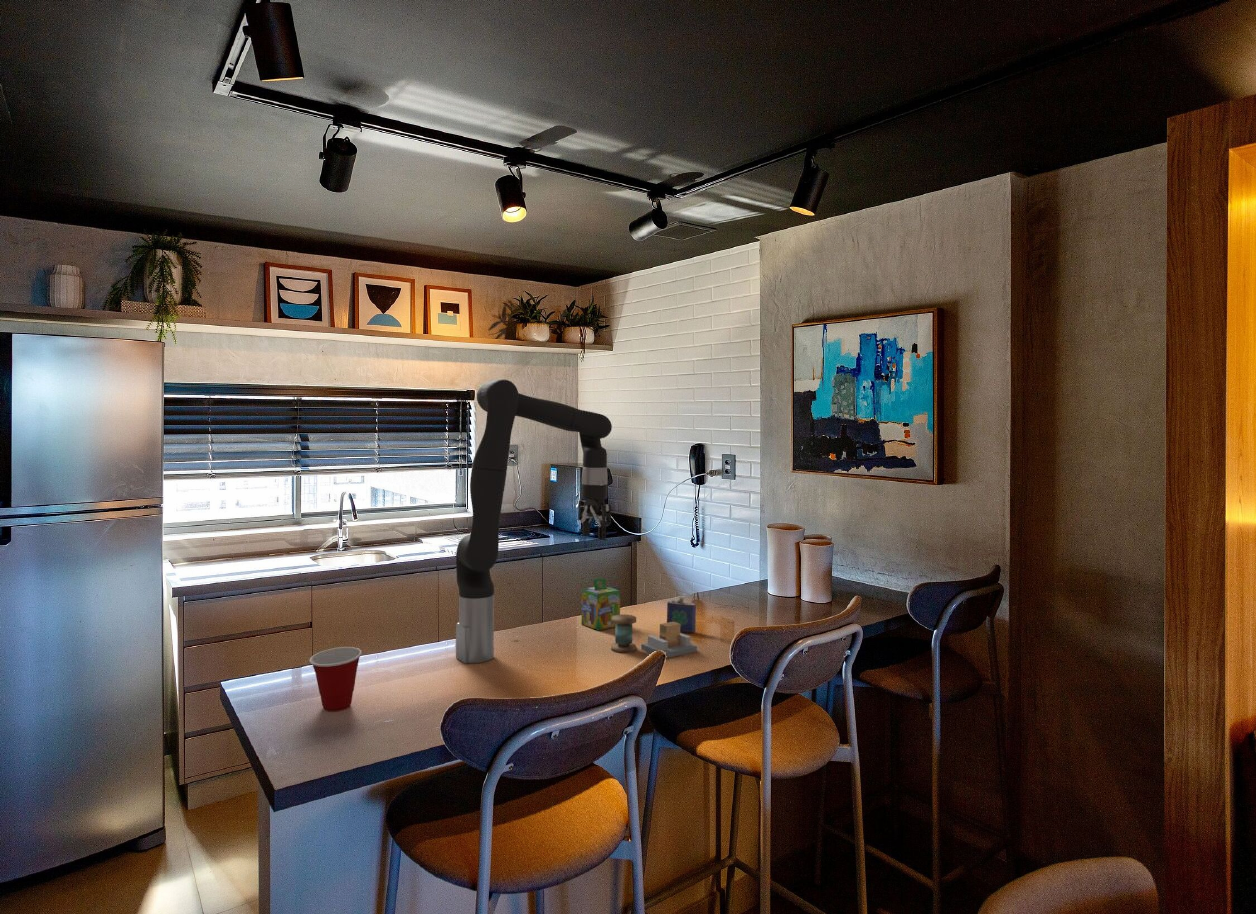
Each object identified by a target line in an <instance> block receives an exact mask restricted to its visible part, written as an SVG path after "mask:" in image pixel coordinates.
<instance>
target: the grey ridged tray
mask: <svg viewBox="0 0 1256 914" xmlns="http://www.w3.org/2000/svg"><path fill="white" fill-rule="evenodd" d="M691 641H692V640H691V636H689V635H686V633H680V645H677V646H672V647H668V641H666V640H663V639H661V638H660V637H658V636H655V635H651V634H650V635H648V636H647V642H645V643H641V645H640V647H641V648H640V649H641V650H642V651H644V652H647V653H648V654H651V653H652V652H654V651H658V650H662V651H664V652H666V656H667V658H666V659H669V658H674V657H677V656H683V655H688V654H691V653H697V652H698V646H697V645H695V644H692V643H691ZM668 657H669V658H668Z"/></svg>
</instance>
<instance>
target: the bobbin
mask: <svg viewBox="0 0 1256 914" xmlns="http://www.w3.org/2000/svg"><path fill="white" fill-rule="evenodd" d="M612 622H613V623H616V624H615V627H614V628H615V630H614V631H615V634H614V636H615V639H614V642H613V643H612V644H611V648H610V649H611V651H612V652H615V653H619V654H620V653H621V654H629V653H630V654H631V653H633V652H636V650H637V645H636V643H633V624H636V623H637V616H635V615H632V614H626V613H625V614H621V613H620V615H614V616H612Z"/></svg>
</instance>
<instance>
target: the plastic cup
mask: <svg viewBox="0 0 1256 914" xmlns="http://www.w3.org/2000/svg"><path fill="white" fill-rule="evenodd" d="M362 652H363V651H362V650H361V649H360V648H359V647H353V646H342V647H341V646H340V647H333V648H328V649H325V650H322V651H319V652H317V653H315V654H313V655H312V656H311V657H310V658H309V663H310V664H311V665H312V668H313V670H314V673H315V677H316V683H317V687H318V688H317V689H318V691H319V696H320V700H321V706H322V709H323V710H324V711H326V712H331V713H332V712H340V711H344V710H347V709H349V708H350V707H351V705H352V702H353V701H352V700H353V695H354V690H355V685H356V678H357V671H358V667H359V662H360V657H361V655H362Z"/></svg>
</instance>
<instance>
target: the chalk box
mask: <svg viewBox="0 0 1256 914" xmlns="http://www.w3.org/2000/svg"><path fill="white" fill-rule="evenodd" d="M606 582H607V581H606V578H605V577H601V578H595V579H594V580H593V585H594V586H592V587H586V588H582V589H581V623H580V624H581V626H585V627H587V628H590V629H592V630H593V629H594V630H596V631H601V630H602V631H603V630H607V629H611V628H615V624H616V623H613V622H612V616H614V615H621V590H618V589H615V588H613V587H609V586H607V583H606ZM599 583H601V584H602V585H601V586H600V585H599V586H598V584H599Z"/></svg>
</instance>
